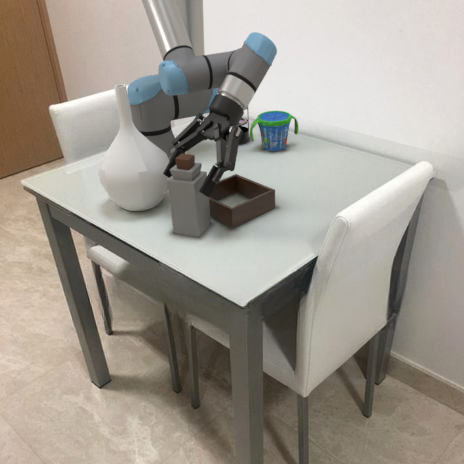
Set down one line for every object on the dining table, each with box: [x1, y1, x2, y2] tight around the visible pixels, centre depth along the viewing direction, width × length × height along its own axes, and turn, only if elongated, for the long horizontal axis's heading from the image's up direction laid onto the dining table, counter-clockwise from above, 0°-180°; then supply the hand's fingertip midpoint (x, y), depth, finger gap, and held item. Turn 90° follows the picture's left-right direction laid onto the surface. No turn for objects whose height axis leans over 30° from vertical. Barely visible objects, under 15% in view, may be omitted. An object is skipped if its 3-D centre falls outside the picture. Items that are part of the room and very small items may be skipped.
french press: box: [227, 106, 251, 146], centre depth 162 cm, size 12×9×23 cm
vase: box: [98, 83, 169, 212], centre depth 125 cm, size 18×18×30 cm
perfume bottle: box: [167, 153, 212, 238], centre depth 117 cm, size 7×7×18 cm
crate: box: [209, 173, 276, 229], centre depth 128 cm, size 15×15×5 cm
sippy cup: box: [249, 110, 299, 152], centre depth 159 cm, size 16×10×10 cm
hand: (184, 185), depth 115 cm, fingers open, 13 cm apart
